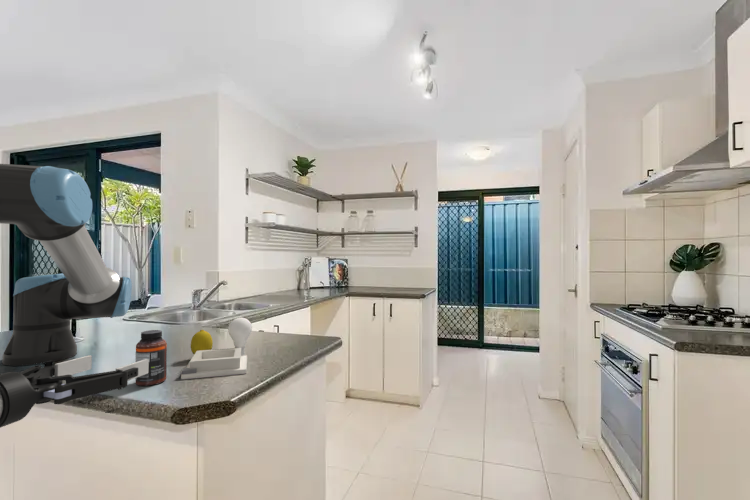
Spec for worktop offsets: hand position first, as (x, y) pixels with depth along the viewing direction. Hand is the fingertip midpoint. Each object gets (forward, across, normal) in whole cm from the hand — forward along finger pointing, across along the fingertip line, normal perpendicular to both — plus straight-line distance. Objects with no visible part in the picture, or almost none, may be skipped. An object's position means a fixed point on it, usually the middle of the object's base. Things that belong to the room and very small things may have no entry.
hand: (118, 364), depth 72 cm
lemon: (+28, -2, -7) cm, 29 cm away
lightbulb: (+32, +7, -7) cm, 34 cm away
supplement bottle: (+8, 0, -7) cm, 11 cm away
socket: (+21, +8, -6) cm, 23 cm away
